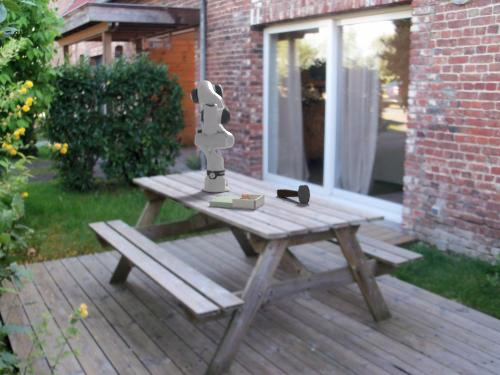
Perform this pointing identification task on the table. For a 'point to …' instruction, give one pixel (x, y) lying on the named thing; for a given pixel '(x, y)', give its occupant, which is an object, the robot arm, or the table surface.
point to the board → (223, 201)
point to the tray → (249, 202)
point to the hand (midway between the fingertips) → (210, 153)
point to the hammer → (296, 193)
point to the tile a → (245, 196)
